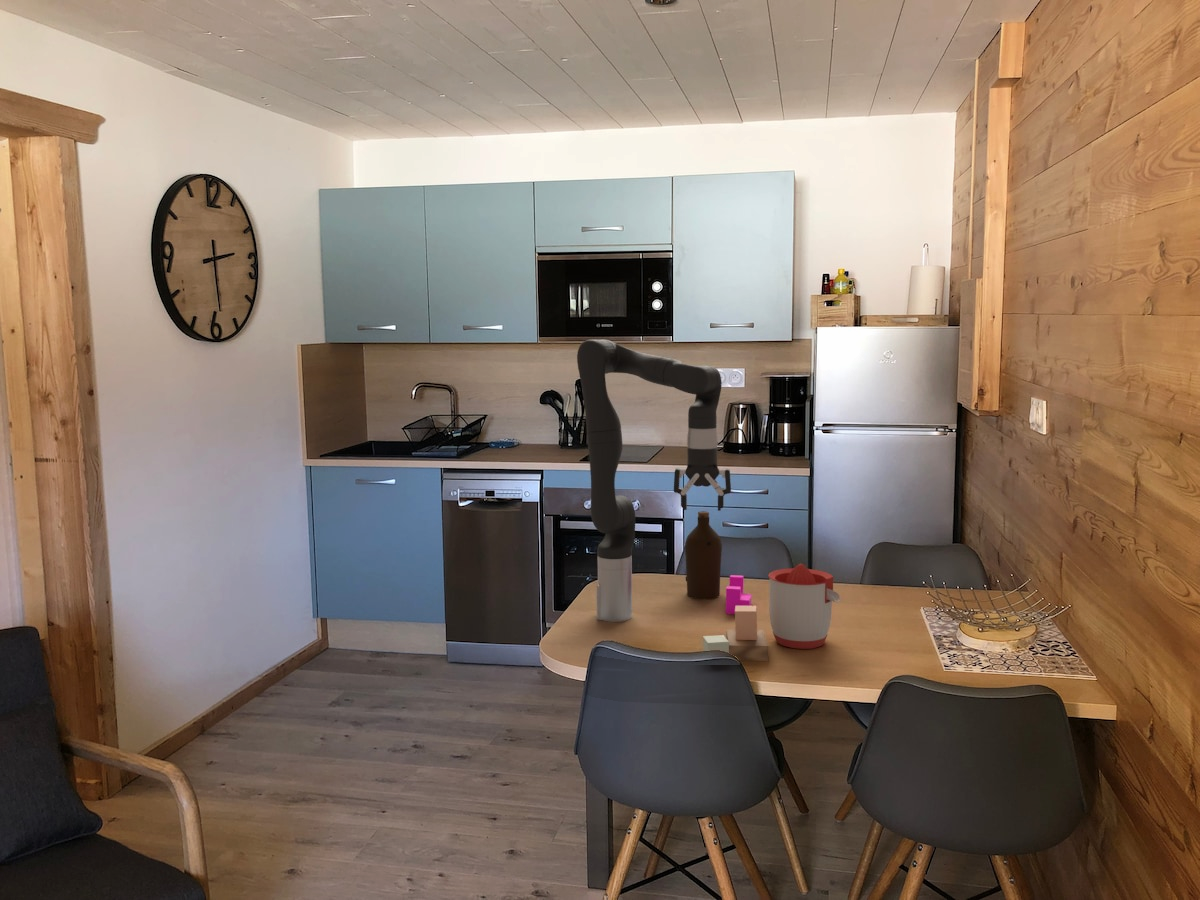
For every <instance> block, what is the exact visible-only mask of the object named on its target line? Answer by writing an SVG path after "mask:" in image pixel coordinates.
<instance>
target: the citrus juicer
mask: <svg viewBox="0 0 1200 900" xmlns="http://www.w3.org/2000/svg"><path fill="white" fill-rule="evenodd" d="M767 576H768V578H769V587H768V588H769V593H768V594H769V600H768V603H769V604H768V605H769V606H768V610H769V611H768V612H769V621H770V626H771V629H772V634H773V636H774V639H775V642H776V643H777V644H779V645H781V646H784V647H787V648H791V649H802V650H803V649H805V650H811V649H815V648H818V647H819V648H820V647H821V646H823V645H824V644H825V641H826V639H827V637H828V634H829V633H828V632H829V630H830V627H831V621H832V611H833V610H832V608H833V607H832V605H833V603H832V602H834V603H839V602H840V600H841V598H840V594H839V593H838V592H837V591H835V590H834V576H833V575H832V574H830V573H828V572H826V571H823V570H817V569H811V568H807V566H806V565H804V564H803V563H798V564H797V565H796V566H795V567H793V568H792V567H791V568H781V569H775V570H773V571H771V572H769V574H768V575H767Z"/></svg>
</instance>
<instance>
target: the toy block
mask: <svg viewBox="0 0 1200 900" xmlns="http://www.w3.org/2000/svg"><path fill="white" fill-rule="evenodd" d="M735 606H752V593H744V575H738V574H735V575H734V574H731V575H729V585H727V586H726V587H725V614H729V615H730V614H731V615H733V614H734V615H735Z"/></svg>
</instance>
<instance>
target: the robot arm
mask: <svg viewBox="0 0 1200 900" xmlns="http://www.w3.org/2000/svg"><path fill="white" fill-rule="evenodd" d="M576 353H577V354H576V362H577V363H576V364H577V369H578V373H579V374H578V375H579V379H580V380H579V381H580V385H581V390H582V397H583V403H584V406H583V407H584V413H585V422H586V423H585V424H586V438H587V439H586V440H587V448H588V453H589V454H588V457H589V469H590V515H591V516H590V517H591V522H592V523H593V525H594V528H595V529H596V530H597V531H598V532H600V533H602V534H605V535H604V536H603V539H602V540H601V541H600V543H599V544H598V546H597V550H596V551H597V554H596V555H597V584H596V620H599V621H603V622H607V623H608V622H609V623H620V622H621V623H622V622H625V621H626V622H627V621H629V620H631V619H632V618H633V578H632V577H633V572H632V570H633V567H632V566H633V564H632V563H633V562H632V561H633V559H632V555H633V554H632V551H633V547H634V544H635V542H636V541H635V538H636V537H635V536H636V510H635V507H634V504H633V502H632V501H631V500H630V498H629V497H627V496H625V495H616V488H615V487H616V486H615V484H616V483H615V481H616V480H615V479H616V473H617V469H618V467H619V464H620V460H621V456H622V451H623V436H622V425H621V421H620V418H619V415H618V413H617V411H616V409H615V407H614V405H613V404H612V403H613V402H612V401H611V398H610V397H609V394H608V389H607V384H606V374H610V373H611V374H612V373H613V374H614V373H618V374H629V375H632V376H636V377H638V378H641V379H642V380H644V381H647V382H649V383H653V384H656V385H660V386H664V387H669V388H674V389H676V390H678V391H681V392H684V393H686V394H692V395H695V399H694V403H693V404H691V405H689V407H688V413H687V415H688V417H687V418H688V419H687V422H688V425H687V426H688V427H687V435H686V437H687V438H686V441H687V442H686V455H687V459H686V460H687V462H686V468H685V469H684V468H683V469H682V468H679V467H676V468H675V470H674V479H673V492H674V493H675V494H679V495H680V507H681V509H682V508H683V511H687V508H688V503H687V502H688V499H687V498H688V496H687V492H689V491H690V489H691V488H692V487H693V486H695V487H701V486H702V487H708V488H709V487H710V486H712V488H713V490H715V492H716V493H717V494H718V495H717V511H718V512H719V511H721V509H723V508H724V503H725V502H724V498H725V497H724V496H725V495H727V494H731V492H732V484H731V483H732V482H731V469H729V468H725V469H719V467H718V432H717V431H718V430H717V409H718V405H719V401H720V397H721V392H722V383H723V382H722V376H721V373H720V371H719V370H718V369H717V368H716V366H712V365H707V364H706V365H692V364H686V363H684V362H683V361H680V360H678V359H674V358H669V357H664V356H660V355H656V354H648V353H644V352H640V351H636V350H633V349H630V348H628V347H625V346H623V345H621V344H618V343H616V342H614V341H611V340H609V339H602V338H601V339H586V340H585V341H583V342H582V343H581V344H580V345H579V347H578V349H577V352H576ZM684 475H685V476H686V477H687V479H689V480H688V481H687V482H686V484H685V485H684V486H683V487H682V488H681V487H680V479H681V478H683V476H684ZM719 475H721V477H722V478H723V479H724V480H725V481H724V482H725V488H722V487H721V486H720V484H719V483H718V481H717V480H716V479H717V478H718V476H719Z"/></svg>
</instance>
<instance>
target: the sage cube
mask: <svg viewBox="0 0 1200 900" xmlns="http://www.w3.org/2000/svg"><path fill="white" fill-rule="evenodd" d="M710 650H720V651H725V652H728V653H729V641H728V640H727V639H726V635H724V634H720V635H719V634H718V635H703V636H702V652H703V651H710Z"/></svg>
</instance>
